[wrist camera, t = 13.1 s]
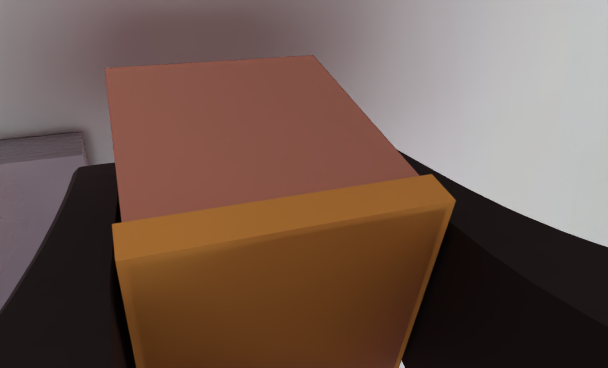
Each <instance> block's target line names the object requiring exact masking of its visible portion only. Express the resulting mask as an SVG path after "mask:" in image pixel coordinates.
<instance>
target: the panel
mask: <svg viewBox="0 0 608 368" xmlns="http://www.w3.org/2000/svg"><path fill="white" fill-rule="evenodd" d="M83 166H89V164H88V159H87V154H86V150H85V145H84V140H83V136H82V132H77V133H67V134H57V135H47V136H37V137H28V138H18V139H8V140H0V310H1V308H2V307H3V305H4V304H5V302H6V301H7V299H8V298H9V296H10V295H11V293H12V291H13V290H14V288H15V287H16V285H17V283H18V282H19V280H20V279H21V277H22V275H23V274H24V272H25V271H26V269H27V267H28V266H29V264H30V263H31V261H32V259H33V257H34V256H35V254H36V252H37V250H38V249H39V247H40V245H41V243H42V241H43V239H44V237H45V235H46V234H47V232H48V230H49V228H50V226H51V224H52V222H53V220H54V218H55V216H56V214H57V212H58V210H59V208H60V205H61V203H62V201H63V199H64V196H65V194H66V192H67V189H68V186H69V184H70V181H71V178H72V175H73V173H74V172H75V171H76V170H77V169H78V167H83Z"/></svg>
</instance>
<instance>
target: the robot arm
mask: <svg viewBox="0 0 608 368" xmlns="http://www.w3.org/2000/svg"><path fill="white" fill-rule="evenodd" d="M396 150H397V149H396ZM397 151H398V150H397ZM398 152H399V153H400V154H401V155H402V156H403V158H404V159H405V160H406V161H407V162H408V163H409V164H410V165H411V167H412V168H413V169H414V170H415V171H416V172H417V173H418V175H419V176H423V175H429V174H432V175H433V176H434V177H435V178H436V179H437V180H438V181H439V182H440V184H441V185H442V186H443V187H444V188H445V189H446V190H447V191H448V192H449V193H450V194H451V196H452V197H453V198H454V199H455V200H456V202H455V205H454V208H453V211H452V214H451V217H450V219H449V222H448V225H447V228H446V231H445V234H444V237H443V240H442V243H441V246H440V249H439V252H438V255H437V257H436V260H435V263H434V266H433V269H432V272H431V275H430V278H429V281H428V284H427V287H426V290H425V293H424V295H423V298H422V301H421V304H420V307H419V310H418V313H417V316H416V319H415V322H414V325H413V328H412V331H411V333H410V336H409V339H408V342H407V345H406V348H405V351H404V354H403V357H402V362H403V364H404V366H405V368H608V247H605V246H602V245H599V244H596V243H593V242H590V241H587V240H585V239H582V238H579V237H576V236H574V235H571V234H568V233H566V232H563V231H560V230H558V229H555V228H553V227H551V226H548V225H546V224H543V223H541V222H538V221H536V220H533V219H531V218H529V217H526V216H524V215H522V214H519V213H517V212H515V211H513V210H510V209H508V208H506V207H504V206H502V205H500V204H498V203H496V202H494V201H492V200H490V199H487V198H485V197H483V196H481V195H479V194H477V193H475V192H473V191H471V190H469V189H467V188H466V187H464V186H462V185H460V184H458V183H456V182H454V181H452V180H450V179H449V178H447V177H445V176H443V175H441V174H439V173H438V172H436V171H434V170H432V169H430V168H429V167H427V166H425V165H423V164H421V163H420V162H418V161H416V160H414V159H413V158H411V157H409V156H407V155H405V154H404V153H402V152H400V151H398ZM121 222H122V221H121V212H120V203H119V193H118V184H117V175H116V166H115V163H107V164H99V165H91V166H83V167H78V169H77V170H76V171H75V172H74V173H73V175H72V178H71V181H70V184H69V186H68V189H67V192H66V194H65V196H64V199H63V201H62V203H61V205H60V208H59V210H58V212H57V214H56V216H55V218H54V220H53V222H52V224H51V226H50V228H49V230H48V232H47V234H46V235H45V237H44V239H43V241H42V243H41V245H40V247H39V249H38V250H37V252H36V254H35V256H34V257H33V259H32V261H31V263H30V264H29V266H28V267H27V269H26V271H25V272H24V274H23V275H22V277H21V279H20V280H19V282H18V283H17V285H16V287H15V288H14V290H13V291H12V293H11V295H10V296H9V298H8V299H7V301H6V302H5V304H4V305H3V307H2V308H1V310H0V368H136V363H135V358H134V353H133V348H132V343H131V338H130V333H129V328H128V323H127V318H126V313H125V308H124V303H123V298H122V293H121V288H120V283H119V278H118V273H117V268H116V263H115V253H114V242H113V231H112V224H115V223H121Z"/></svg>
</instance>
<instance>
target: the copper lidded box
mask: <svg viewBox="0 0 608 368" xmlns="http://www.w3.org/2000/svg"><path fill="white" fill-rule="evenodd" d="M105 76H106V85H107V94H108V103H109V112H110V121H111V130H112V139H113V148H114V157H115V166H116V175H117V184H118V193H119V203H120V212H121V221H122V222H121V223H115V224H112V231H113V242H114V253H115V263H116V268H117V273H118V278H119V283H120V288H121V293H122V298H123V303H124V308H125V313H126V318H127V323H128V328H129V333H130V338H131V343H132V348H133V353H134V358H135V363H136V368H399V366H400V363H401V360H402V357H403V354H404V351H405V348H406V345H407V342H408V339H409V336H410V333H411V331H412V328H413V325H414V322H415V319H416V316H417V313H418V310H419V307H420V304H421V301H422V298H423V295H424V293H425V290H426V287H427V284H428V281H429V278H430V275H431V272H432V269H433V266H434V263H435V260H436V257H437V255H438V252H439V249H440V246H441V243H442V240H443V237H444V234H445V231H446V228H447V225H448V222H449V219H450V217H451V214H452V211H453V208H454V205H455V202H456V200H455V199H454V198H453V197H452V196H451V194H450V193H449V192H448V191H447V190H446V189H445V188H444V187H443V186H442V185H441V184H440V182H439V181H438V180H437V179H436V178H435V177H434V176H433V175H432V174H429V175H423V176H419V175H418V173H417V172H416V171H415V170H414V169H413V168H412V167H411V165H410V164H409V163H408V162H407V161H406V160H405V159H404V158H403V156H402V155H401V154H400V153H399V152H398V151H397V150H396V148H395V147H394V146H393V145H392V144H391V143H390V142H389V141H388V139H387V138H386V137H385V136H384V135H383V134H382V133H381V131H380V130H379V129H378V128H377V127H376V126H375V125H374V124H373V122H372V121H371V120H370V119H369V118H368V117H367V116H366V114H365V113H364V112H363V111H362V110H361V109H360V108H359V107H358V105H357V104H356V103H355V102H354V101H353V100H352V99H351V97H350V96H349V95H348V94H347V93H346V92H345V91H344V89H343V88H342V87H341V86H340V85H339V84H338V83H337V82H336V80H335V79H334V78H333V77H332V76H331V75H330V74H329V72H328V71H327V70H326V69H325V68H324V67H323V66H322V65H321V63H320V62H319V61H318V60H317V59H316V58H315V57H314V55H307V56H291V57H275V58H258V59H242V60H226V61H210V62H194V63H178V64H162V65H146V66H130V67H114V68H105Z"/></svg>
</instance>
